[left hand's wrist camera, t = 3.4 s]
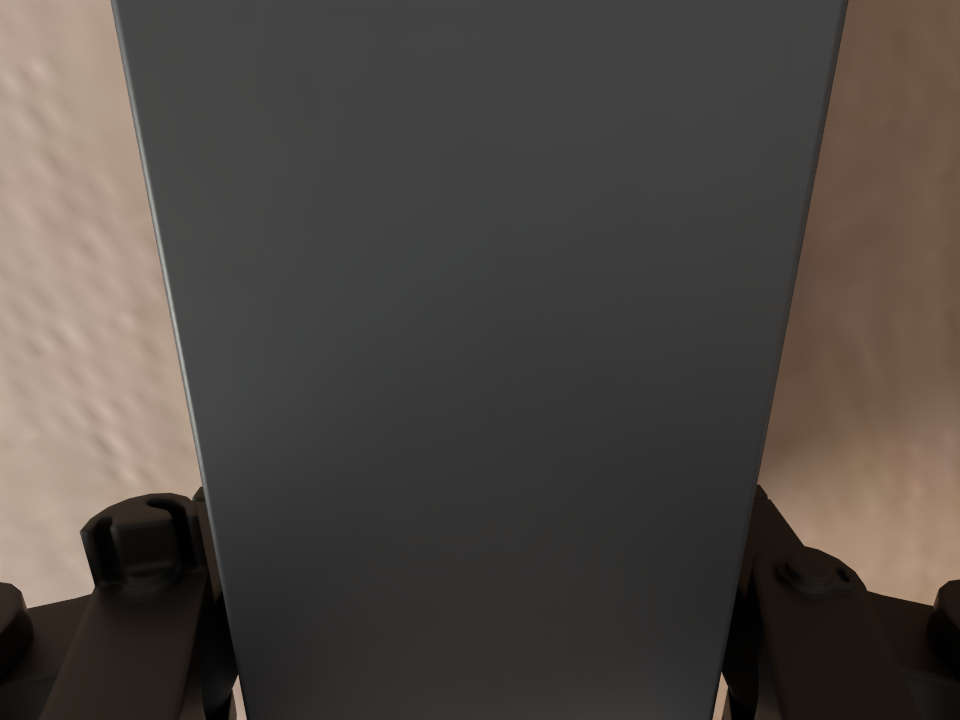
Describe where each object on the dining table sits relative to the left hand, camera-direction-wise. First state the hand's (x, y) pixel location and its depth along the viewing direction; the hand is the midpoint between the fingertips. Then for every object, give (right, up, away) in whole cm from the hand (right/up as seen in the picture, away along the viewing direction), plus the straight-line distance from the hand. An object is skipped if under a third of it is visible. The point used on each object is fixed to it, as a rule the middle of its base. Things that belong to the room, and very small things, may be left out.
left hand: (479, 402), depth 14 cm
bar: (0, +8, -3) cm, 8 cm away
